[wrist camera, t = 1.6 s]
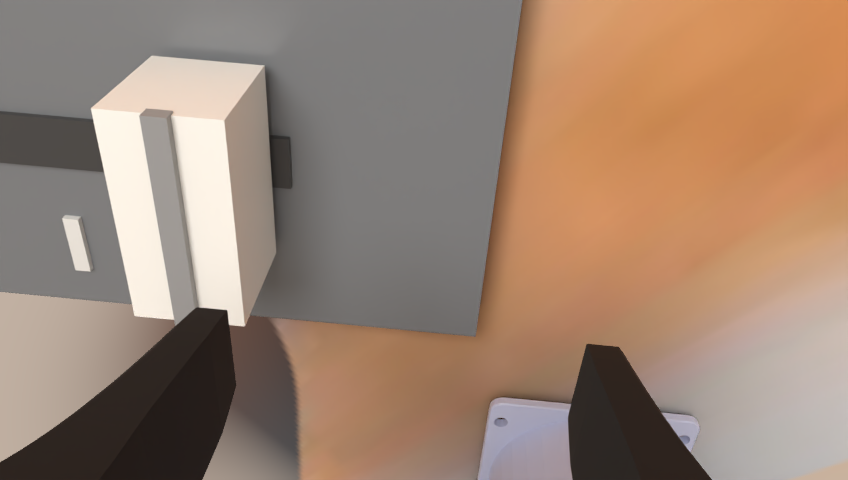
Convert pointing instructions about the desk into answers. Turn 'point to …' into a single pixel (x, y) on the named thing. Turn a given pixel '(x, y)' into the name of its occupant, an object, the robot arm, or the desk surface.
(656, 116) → the desk surface
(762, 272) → the desk surface
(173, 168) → the fader tab
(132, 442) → the robot arm
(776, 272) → the desk surface
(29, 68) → the board
